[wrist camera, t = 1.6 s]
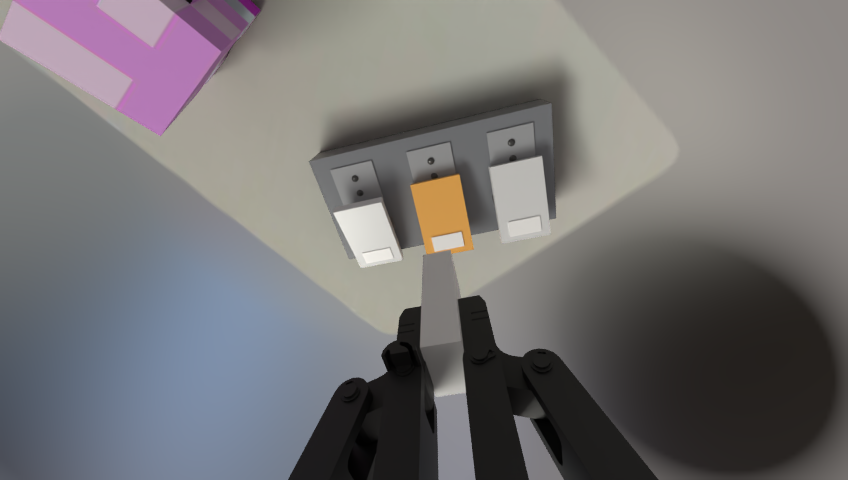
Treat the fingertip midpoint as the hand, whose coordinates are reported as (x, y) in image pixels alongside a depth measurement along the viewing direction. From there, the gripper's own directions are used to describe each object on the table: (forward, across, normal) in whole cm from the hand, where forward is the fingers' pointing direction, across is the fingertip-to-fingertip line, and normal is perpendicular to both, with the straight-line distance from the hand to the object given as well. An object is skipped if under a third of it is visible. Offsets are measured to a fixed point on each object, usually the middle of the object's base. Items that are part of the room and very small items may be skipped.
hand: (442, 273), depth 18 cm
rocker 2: (+17, 0, -4) cm, 17 cm away
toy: (+21, -17, +18) cm, 32 cm away
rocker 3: (+17, +8, -4) cm, 19 cm away
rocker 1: (+17, -8, -4) cm, 19 cm away
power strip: (+21, 0, -1) cm, 21 cm away
